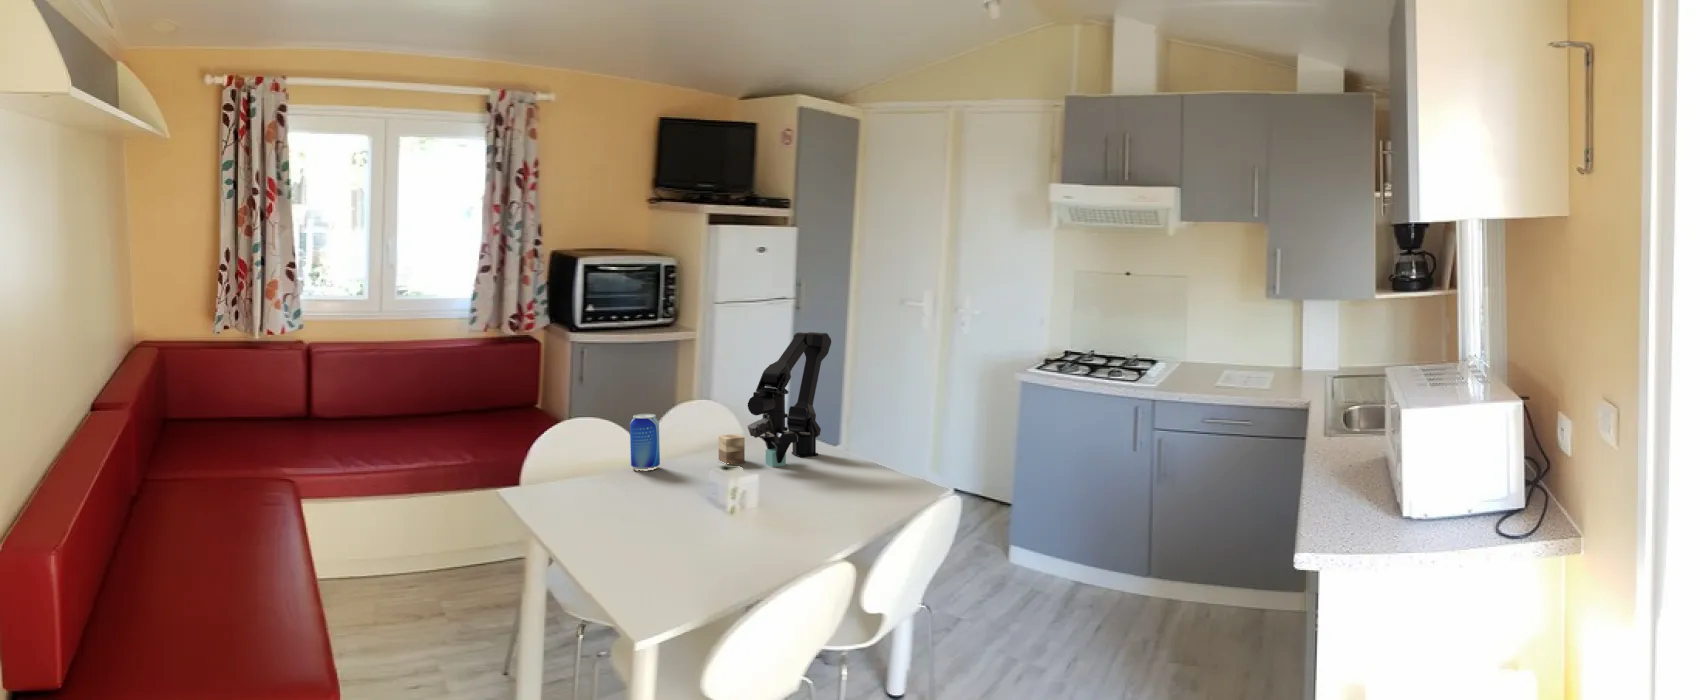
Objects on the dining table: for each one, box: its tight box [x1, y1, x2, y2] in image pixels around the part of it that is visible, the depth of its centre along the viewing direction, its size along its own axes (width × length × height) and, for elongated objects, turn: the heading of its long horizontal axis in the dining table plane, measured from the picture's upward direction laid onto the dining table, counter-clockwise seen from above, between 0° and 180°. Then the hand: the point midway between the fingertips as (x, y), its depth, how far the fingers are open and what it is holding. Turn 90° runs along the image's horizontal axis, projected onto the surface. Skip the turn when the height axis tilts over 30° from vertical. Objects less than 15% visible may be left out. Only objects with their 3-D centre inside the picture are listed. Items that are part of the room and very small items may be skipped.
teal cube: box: [765, 448, 787, 468], centre depth 309 cm, size 4×4×4 cm
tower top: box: [718, 433, 746, 452], centre depth 312 cm, size 6×6×4 cm
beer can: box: [629, 413, 661, 470], centre depth 303 cm, size 8×8×16 cm
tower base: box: [718, 448, 746, 465], centre depth 313 cm, size 6×6×4 cm
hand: (775, 461), depth 309 cm, fingers closed on teal cube, 4 cm apart
